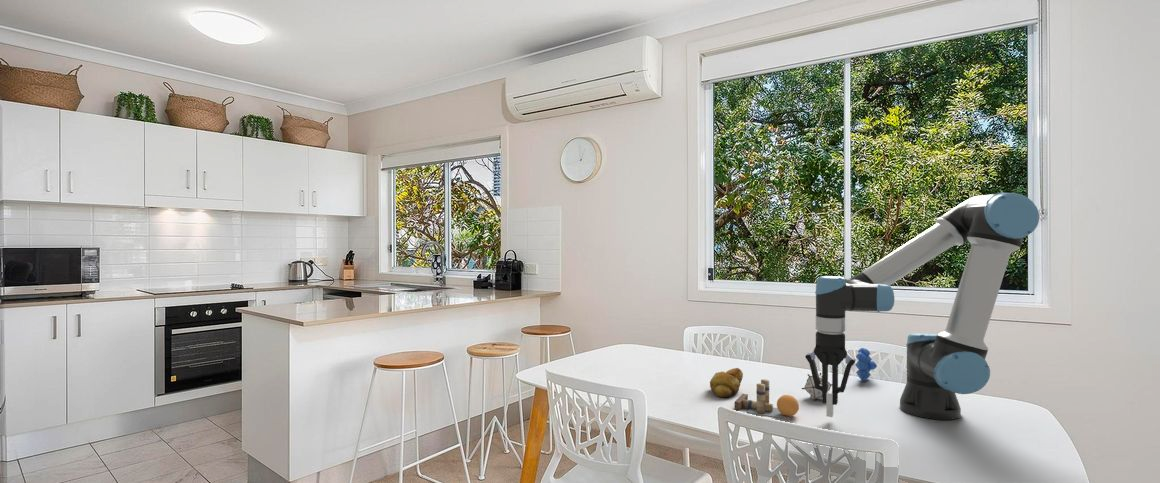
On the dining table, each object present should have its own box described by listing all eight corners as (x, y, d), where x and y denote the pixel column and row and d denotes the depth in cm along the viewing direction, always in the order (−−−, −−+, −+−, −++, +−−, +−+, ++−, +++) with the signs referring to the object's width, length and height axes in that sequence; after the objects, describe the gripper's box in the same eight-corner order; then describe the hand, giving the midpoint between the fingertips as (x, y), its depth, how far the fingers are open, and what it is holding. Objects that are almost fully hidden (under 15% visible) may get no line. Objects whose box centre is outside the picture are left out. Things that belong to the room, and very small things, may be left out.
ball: (776, 406, 162) (797, 414, 159) (772, 414, 157) (794, 423, 154) (781, 388, 161) (802, 396, 158) (778, 396, 155) (799, 404, 153)
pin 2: (770, 407, 164) (770, 380, 164) (768, 410, 162) (768, 382, 162) (761, 406, 166) (761, 378, 165) (759, 408, 164) (759, 380, 163)
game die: (823, 412, 171) (838, 392, 165) (797, 401, 173) (811, 381, 167) (823, 391, 178) (838, 372, 172) (798, 381, 180) (811, 361, 174)
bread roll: (731, 401, 171) (731, 376, 171) (702, 396, 177) (702, 371, 177) (744, 391, 182) (744, 367, 181) (717, 386, 187) (716, 363, 187)
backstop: (747, 402, 170) (747, 394, 170) (739, 410, 162) (739, 402, 162) (742, 401, 170) (742, 393, 170) (734, 409, 163) (734, 401, 163)
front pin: (773, 402, 162) (744, 398, 166) (771, 405, 159) (742, 400, 164) (773, 411, 162) (744, 406, 166) (771, 413, 159) (742, 408, 164)
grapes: (872, 386, 185) (873, 351, 184) (851, 383, 189) (851, 349, 189) (881, 379, 193) (881, 346, 193) (860, 376, 198) (860, 343, 198)
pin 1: (766, 412, 160) (766, 384, 160) (764, 415, 158) (764, 386, 158) (757, 411, 161) (757, 382, 161) (755, 413, 159) (755, 385, 159)
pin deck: (794, 411, 161) (794, 410, 161) (789, 419, 154) (789, 419, 154) (753, 404, 167) (753, 404, 167) (746, 412, 160) (746, 411, 160)
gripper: (857, 331, 151) (857, 415, 152) (807, 327, 158) (807, 407, 159) (855, 336, 145) (854, 423, 146) (803, 331, 152) (802, 415, 152)
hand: (829, 415), depth 152 cm, fingers closed
